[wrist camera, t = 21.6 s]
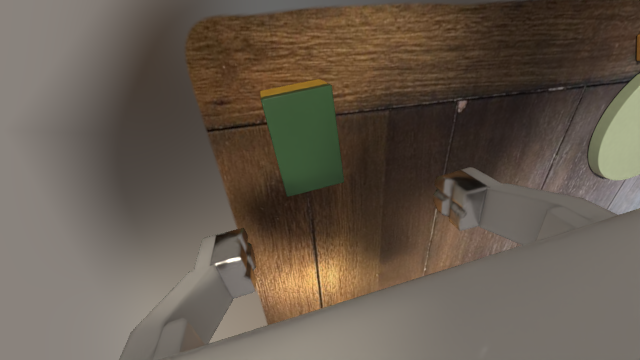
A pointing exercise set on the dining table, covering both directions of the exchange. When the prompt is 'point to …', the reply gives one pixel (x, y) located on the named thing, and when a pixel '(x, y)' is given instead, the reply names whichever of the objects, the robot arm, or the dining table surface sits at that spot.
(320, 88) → the sponge
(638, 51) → the orange square block
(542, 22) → the dining table surface
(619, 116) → the plate
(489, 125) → the dining table surface
